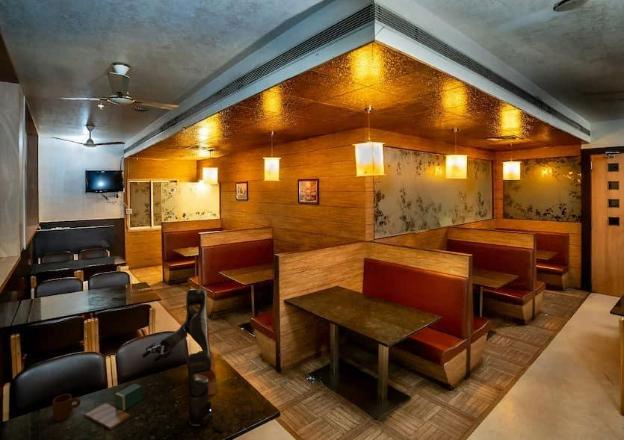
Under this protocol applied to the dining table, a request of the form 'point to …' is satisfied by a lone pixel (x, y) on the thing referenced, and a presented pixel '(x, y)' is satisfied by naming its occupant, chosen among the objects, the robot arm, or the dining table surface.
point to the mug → (64, 406)
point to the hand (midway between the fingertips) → (148, 358)
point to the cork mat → (107, 415)
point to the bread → (211, 376)
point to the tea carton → (128, 397)
